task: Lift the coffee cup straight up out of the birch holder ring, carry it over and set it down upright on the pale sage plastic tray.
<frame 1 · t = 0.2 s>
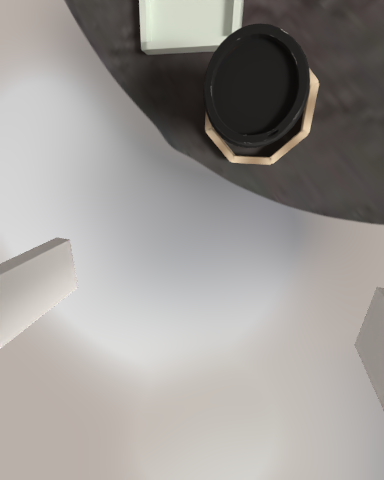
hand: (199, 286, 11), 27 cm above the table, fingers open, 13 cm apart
holder ring: (257, 110, 31), on the table
coffee cup: (257, 111, 31), resting in holder ring
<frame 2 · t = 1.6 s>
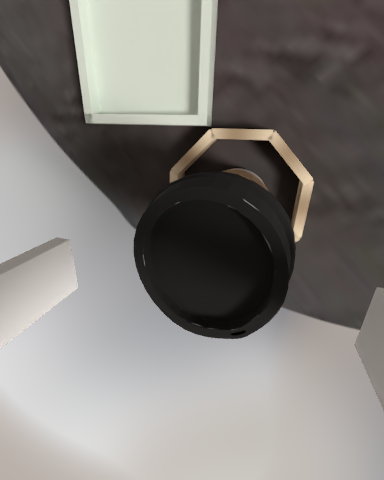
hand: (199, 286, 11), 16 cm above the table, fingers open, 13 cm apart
tray: (148, 43, 21), on the table
holder ring: (236, 198, 24), on the table
coffee cup: (236, 197, 25), resting in holder ring
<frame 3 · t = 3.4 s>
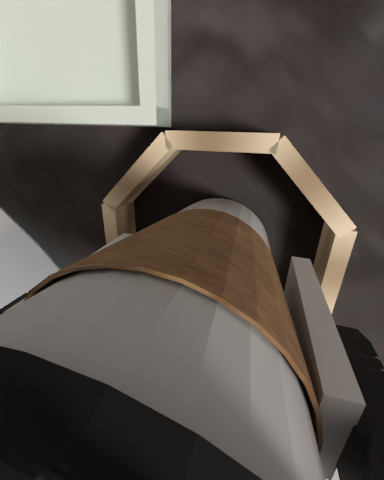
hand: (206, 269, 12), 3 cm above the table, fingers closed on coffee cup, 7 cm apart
holder ring: (217, 245, 15), on the table
coffee cup: (218, 243, 15), resting in holder ring, touching gripper
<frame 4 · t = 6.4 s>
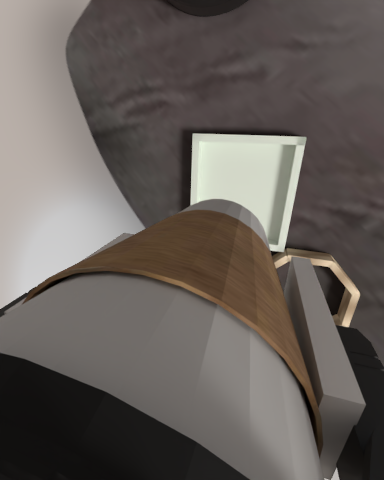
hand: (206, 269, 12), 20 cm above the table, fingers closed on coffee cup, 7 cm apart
tray: (241, 192, 30), on the table
holder ring: (297, 292, 33), on the table
coffee cup: (218, 244, 15), point 17 cm above the table, touching gripper
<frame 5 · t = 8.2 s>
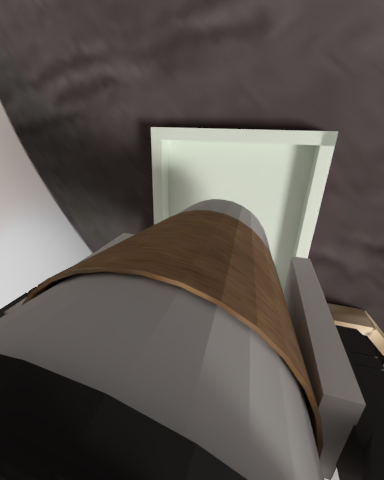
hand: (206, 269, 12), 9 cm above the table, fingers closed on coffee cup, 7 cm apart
tray: (230, 216, 20), on the table
holder ring: (312, 357, 23), on the table
coffee cup: (218, 244, 15), point 6 cm above the table, touching gripper
when the fingers open (5 cm above the table, at t = 9.5 s): coffee cup drops 1 cm, resting on tray.
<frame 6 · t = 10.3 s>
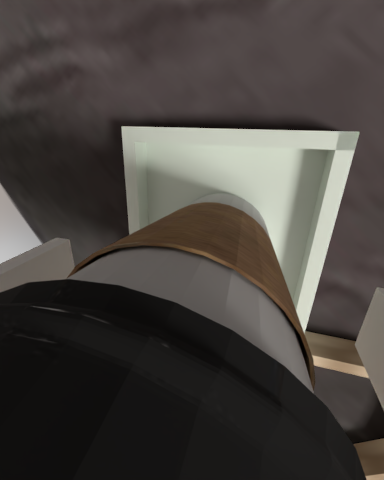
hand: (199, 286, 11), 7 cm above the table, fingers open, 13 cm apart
tray: (222, 234, 17), on the table
holder ring: (320, 398, 20), on the table
coffee cup: (221, 236, 16), resting on tray
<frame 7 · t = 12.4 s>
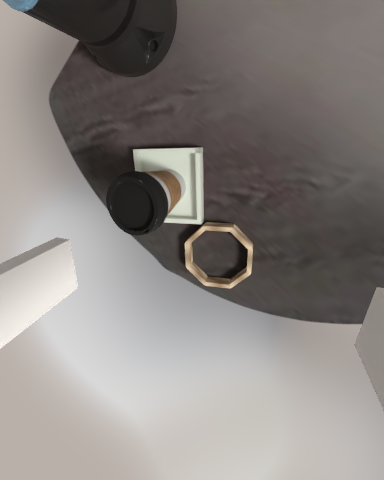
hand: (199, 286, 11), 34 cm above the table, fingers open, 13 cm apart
tray: (171, 185, 45), on the table
holder ring: (219, 253, 47), on the table
coffee cup: (170, 186, 44), resting on tray
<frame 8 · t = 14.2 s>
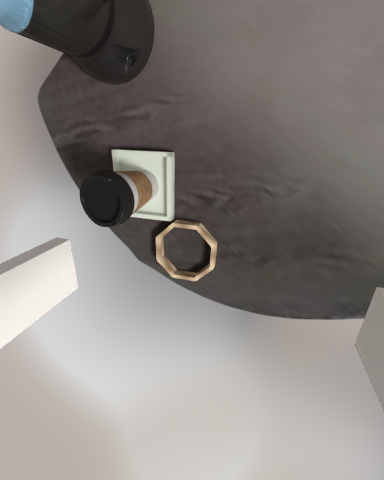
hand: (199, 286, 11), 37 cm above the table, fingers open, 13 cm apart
tray: (146, 184, 49), on the table
holder ring: (187, 248, 52), on the table
coffee cup: (145, 184, 49), resting on tray
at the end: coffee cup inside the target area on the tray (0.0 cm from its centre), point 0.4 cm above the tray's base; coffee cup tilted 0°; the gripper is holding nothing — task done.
